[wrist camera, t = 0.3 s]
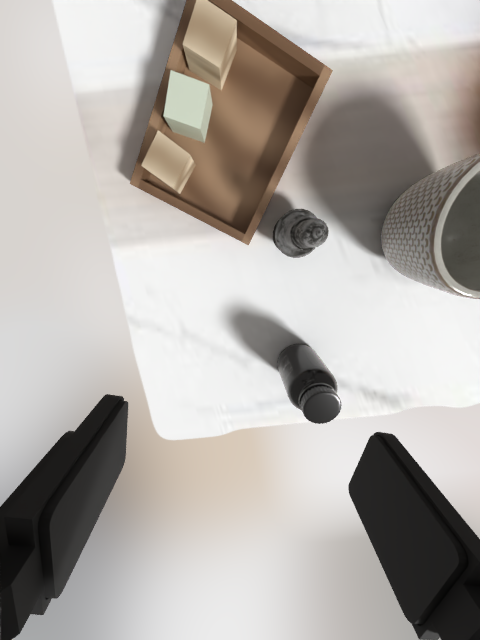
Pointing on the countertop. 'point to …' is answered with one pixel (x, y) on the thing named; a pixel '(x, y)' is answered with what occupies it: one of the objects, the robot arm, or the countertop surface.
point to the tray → (239, 125)
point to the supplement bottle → (309, 383)
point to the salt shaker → (299, 233)
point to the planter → (438, 230)
